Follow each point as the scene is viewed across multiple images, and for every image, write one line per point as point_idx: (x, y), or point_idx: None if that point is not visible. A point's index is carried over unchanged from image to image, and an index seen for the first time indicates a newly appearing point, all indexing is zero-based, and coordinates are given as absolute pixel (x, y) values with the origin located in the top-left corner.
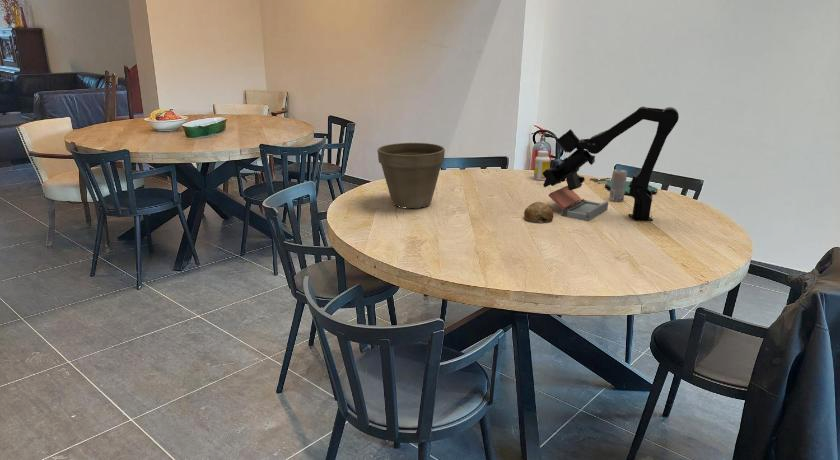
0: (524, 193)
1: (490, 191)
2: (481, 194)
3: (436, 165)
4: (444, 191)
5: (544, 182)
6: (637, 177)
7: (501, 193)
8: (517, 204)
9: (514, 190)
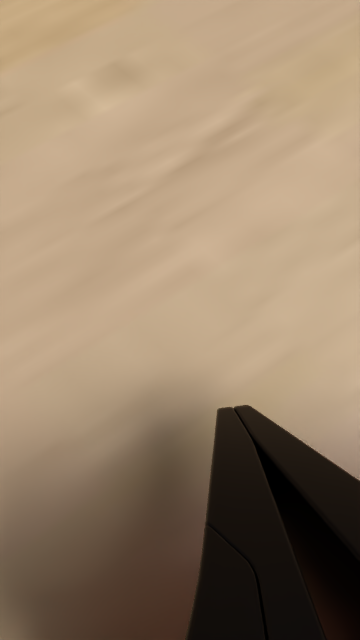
0: (325, 175)
1: (198, 33)
2: (105, 31)
3: None
4: None
5: (213, 446)
6: None
7: (211, 89)
8: (57, 283)
9: (328, 105)
